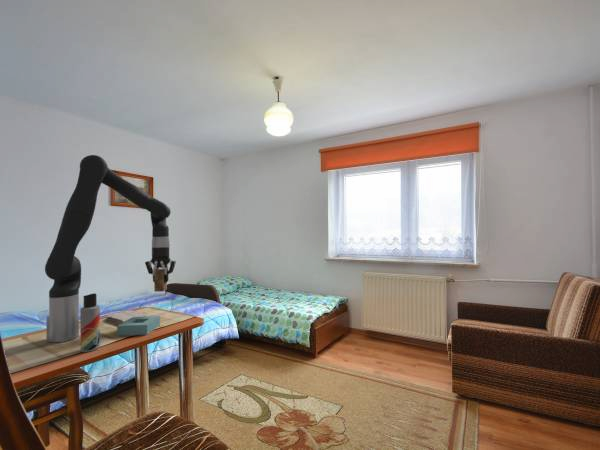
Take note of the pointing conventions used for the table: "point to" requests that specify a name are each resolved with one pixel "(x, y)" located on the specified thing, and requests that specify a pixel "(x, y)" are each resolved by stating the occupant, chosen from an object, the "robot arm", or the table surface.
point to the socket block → (138, 326)
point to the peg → (159, 280)
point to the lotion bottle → (90, 324)
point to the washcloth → (123, 316)
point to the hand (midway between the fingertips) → (160, 282)
